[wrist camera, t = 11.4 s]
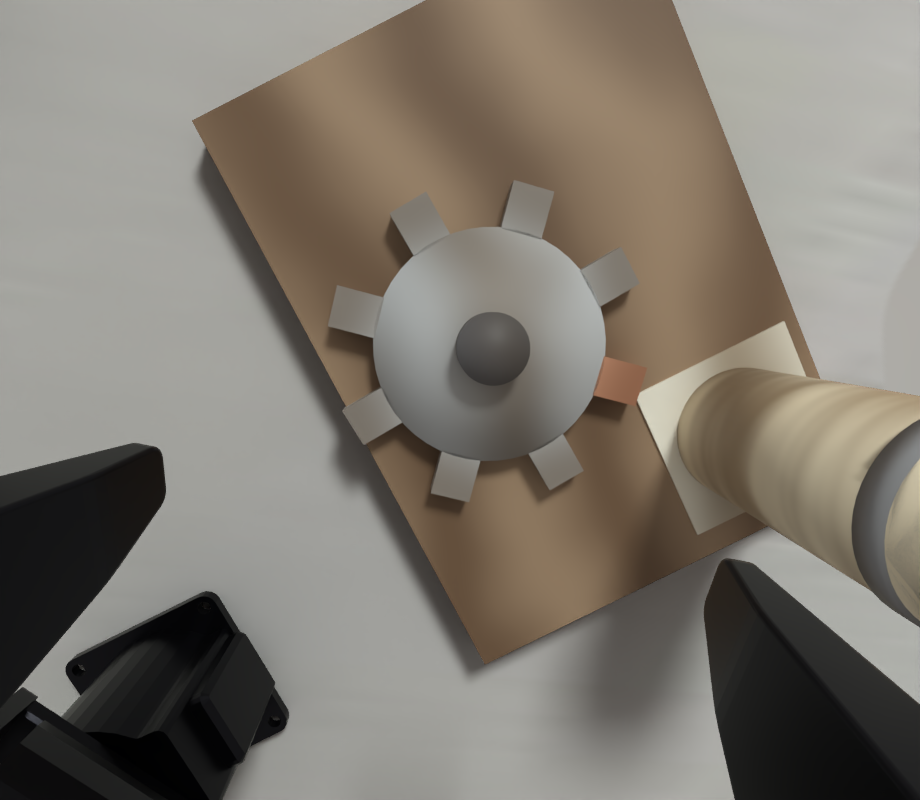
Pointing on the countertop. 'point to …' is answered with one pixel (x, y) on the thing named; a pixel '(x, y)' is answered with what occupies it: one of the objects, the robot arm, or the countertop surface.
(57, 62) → the countertop surface
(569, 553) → the sprocket board
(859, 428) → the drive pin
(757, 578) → the robot arm
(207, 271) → the countertop surface
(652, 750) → the countertop surface
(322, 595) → the countertop surface
